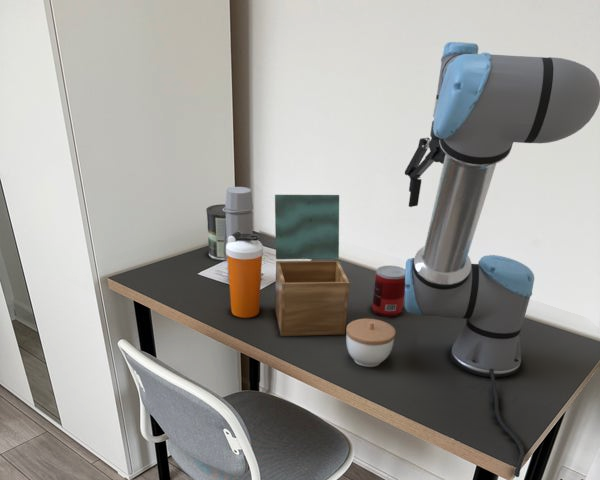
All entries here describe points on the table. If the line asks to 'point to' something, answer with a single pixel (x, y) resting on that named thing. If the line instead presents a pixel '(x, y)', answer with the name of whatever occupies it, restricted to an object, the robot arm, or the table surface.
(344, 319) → the chest
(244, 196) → the water bottle
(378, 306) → the canned food
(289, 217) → the chest lid
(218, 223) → the coffee can
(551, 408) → the table surface
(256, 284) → the shaker bottle
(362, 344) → the trinket box
